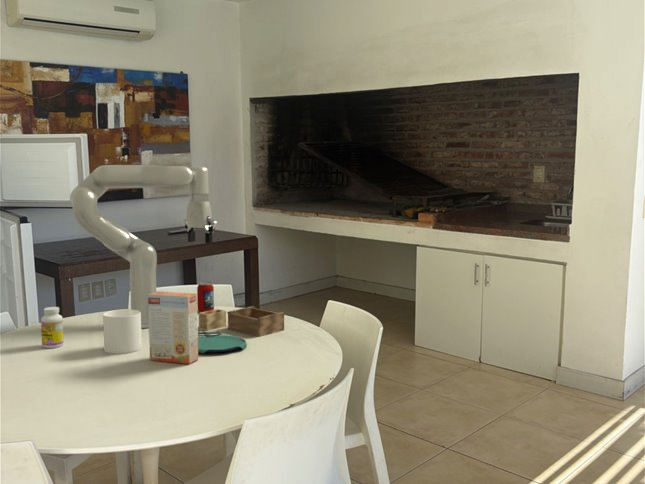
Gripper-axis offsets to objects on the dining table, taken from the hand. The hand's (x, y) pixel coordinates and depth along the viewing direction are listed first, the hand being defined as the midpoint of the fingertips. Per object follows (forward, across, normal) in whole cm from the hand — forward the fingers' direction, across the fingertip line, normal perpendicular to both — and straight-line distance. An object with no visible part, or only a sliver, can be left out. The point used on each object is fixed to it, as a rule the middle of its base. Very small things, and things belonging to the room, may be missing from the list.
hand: (200, 242), depth 244 cm
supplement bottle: (+30, -10, -57) cm, 66 cm away
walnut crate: (+31, +29, -1) cm, 42 cm away
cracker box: (+31, +35, -44) cm, 64 cm away
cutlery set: (+31, +30, -24) cm, 49 cm away
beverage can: (+31, -8, +10) cm, 33 cm away
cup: (+31, +11, -46) cm, 56 cm away
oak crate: (+31, +14, -8) cm, 35 cm away
